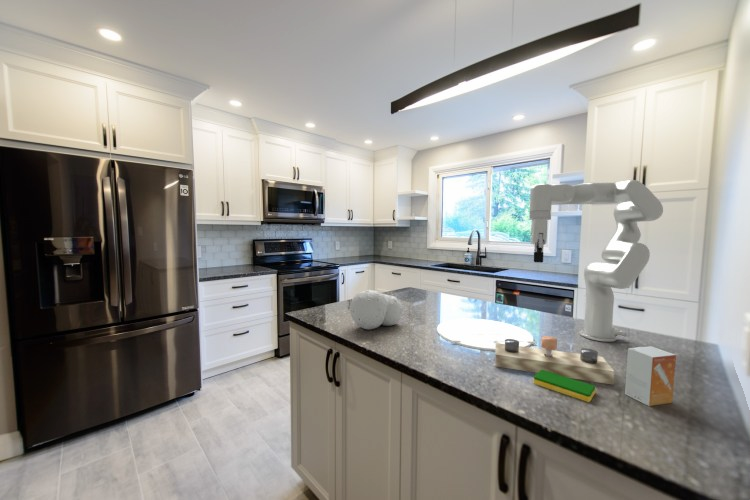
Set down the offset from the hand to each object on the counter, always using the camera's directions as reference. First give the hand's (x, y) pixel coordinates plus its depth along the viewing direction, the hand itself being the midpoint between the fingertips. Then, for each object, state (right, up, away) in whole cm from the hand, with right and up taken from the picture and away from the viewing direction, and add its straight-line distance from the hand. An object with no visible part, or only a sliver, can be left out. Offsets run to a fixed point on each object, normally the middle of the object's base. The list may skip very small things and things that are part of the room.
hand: (538, 262), depth 122 cm
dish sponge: (-12, -35, -35) cm, 51 cm away
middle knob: (-9, -31, -23) cm, 39 cm away
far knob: (-19, -33, -18) cm, 42 cm away
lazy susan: (-18, -32, +10) cm, 38 cm away
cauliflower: (-65, -31, +20) cm, 75 cm away
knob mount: (-9, -34, -22) cm, 41 cm away
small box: (+8, -35, -41) cm, 54 cm away
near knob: (+1, -33, -26) cm, 43 cm away
